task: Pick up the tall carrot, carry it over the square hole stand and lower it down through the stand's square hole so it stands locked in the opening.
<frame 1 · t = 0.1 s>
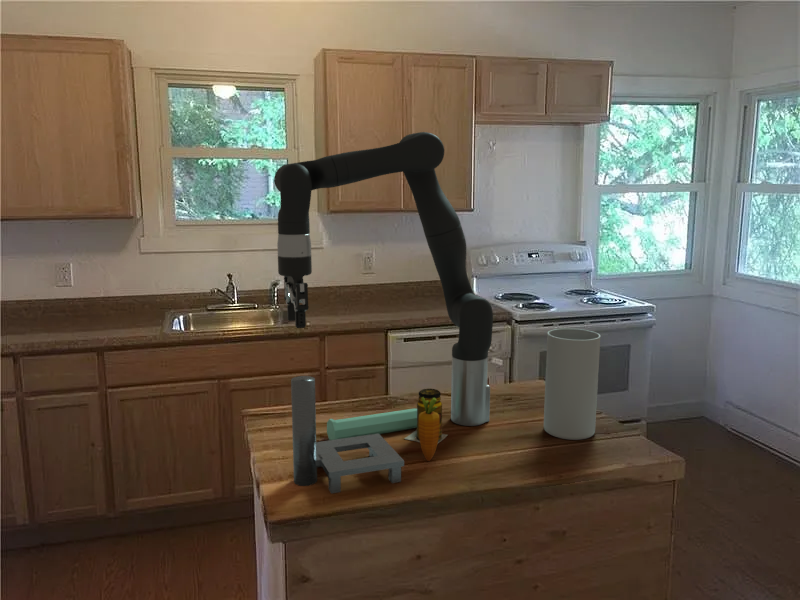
hand: (296, 323, 153), 29 cm above the table, tool pointing down, fingers open, 8 cm apart
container: (378, 434, 165), on the table
carrot: (428, 461, 148), on the table
condiment: (426, 438, 162), on the table
cylinder vase: (568, 432, 166), on the table
square hole stand: (355, 472, 142), on the table
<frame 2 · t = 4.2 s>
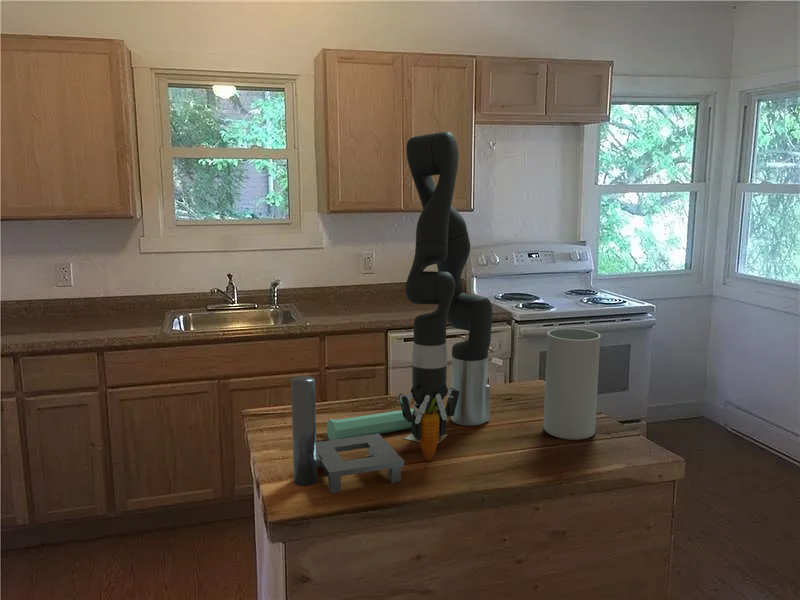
hand: (428, 436, 147), 6 cm above the table, tool pointing down, fingers closed on carrot, 5 cm apart
carrot: (428, 461, 148), on the table, touching gripper
everything else where it was.
when the fingers open (8 cm above the table, at t = 11.5 s): carrot drops 2 cm, on the table.
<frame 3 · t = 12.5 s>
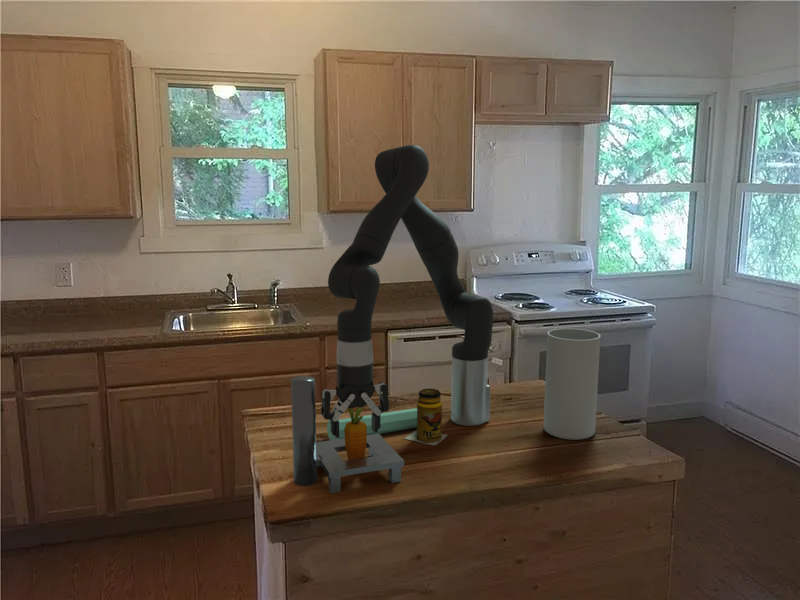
hand: (355, 433, 141), 9 cm above the table, tool pointing down, fingers open, 8 cm apart
carrot: (356, 473, 142), on the table
everything else where it was.
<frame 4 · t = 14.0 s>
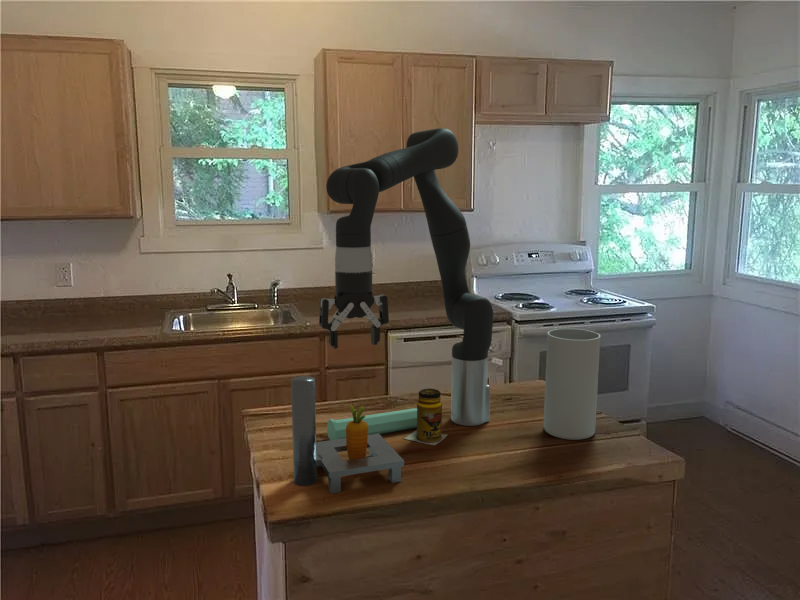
hand: (354, 346, 137), 28 cm above the table, tool pointing down, fingers open, 8 cm apart
nothing on the table moved.
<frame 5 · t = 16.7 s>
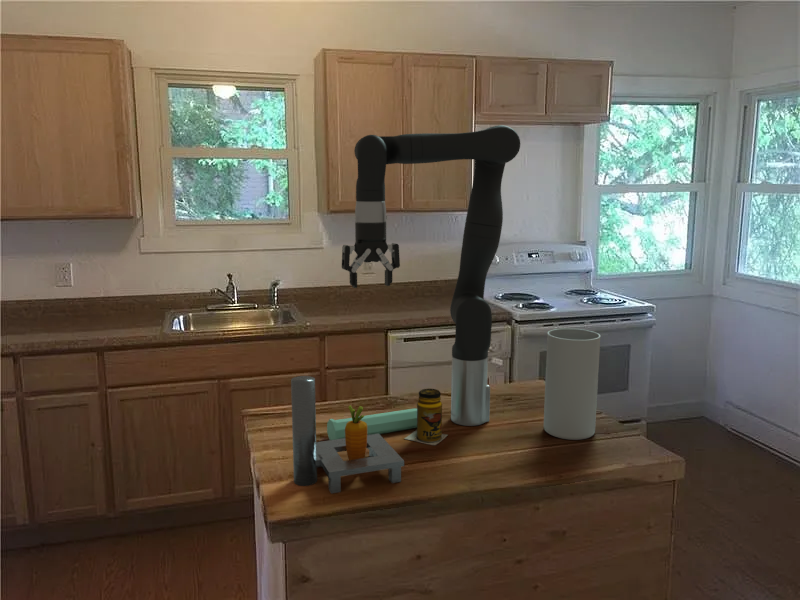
hand: (371, 286, 163), 36 cm above the table, tool pointing down, fingers open, 8 cm apart
nothing on the table moved.
at the end: carrot 0.2 cm off-centre on the square hole stand, point 0.0 cm above the square hole stand's base; carrot tilted 1°; the gripper is holding nothing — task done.
